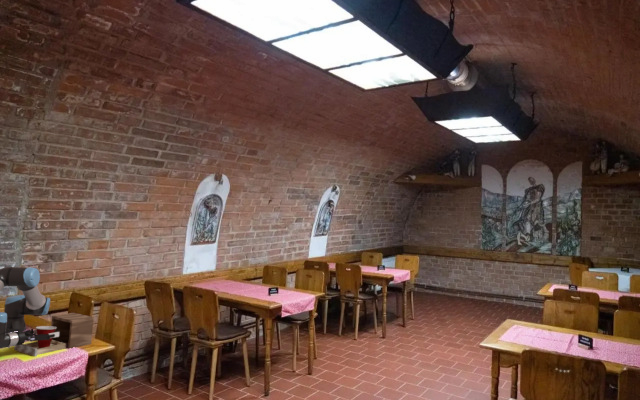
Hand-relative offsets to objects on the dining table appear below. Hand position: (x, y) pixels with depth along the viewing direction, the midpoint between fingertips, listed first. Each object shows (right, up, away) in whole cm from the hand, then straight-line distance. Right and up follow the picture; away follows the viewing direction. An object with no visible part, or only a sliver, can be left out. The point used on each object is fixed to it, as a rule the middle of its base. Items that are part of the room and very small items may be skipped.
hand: (51, 332), depth 274 cm
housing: (+5, -11, +11) cm, 16 cm away
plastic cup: (-2, -8, -4) cm, 9 cm away
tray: (-3, -9, -5) cm, 11 cm away
